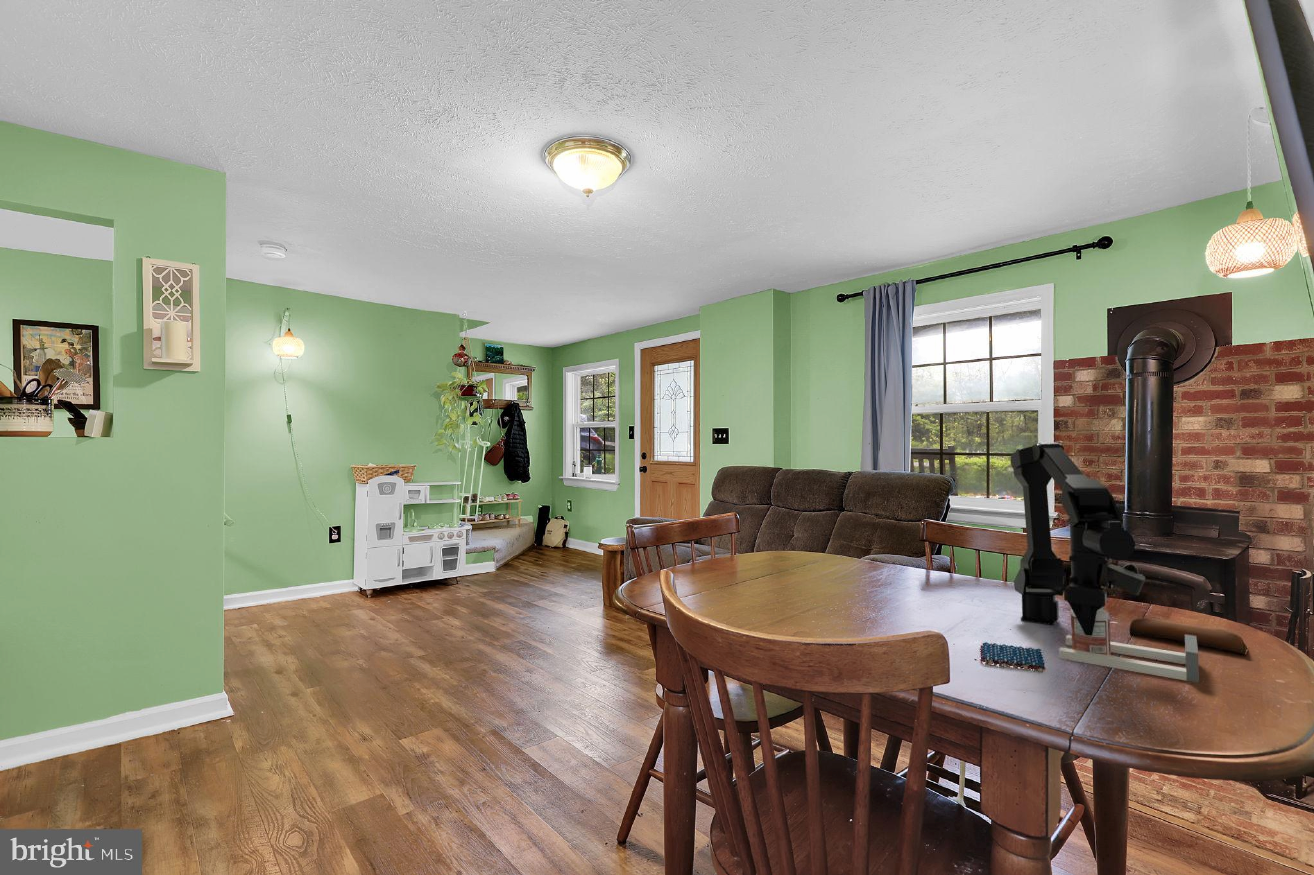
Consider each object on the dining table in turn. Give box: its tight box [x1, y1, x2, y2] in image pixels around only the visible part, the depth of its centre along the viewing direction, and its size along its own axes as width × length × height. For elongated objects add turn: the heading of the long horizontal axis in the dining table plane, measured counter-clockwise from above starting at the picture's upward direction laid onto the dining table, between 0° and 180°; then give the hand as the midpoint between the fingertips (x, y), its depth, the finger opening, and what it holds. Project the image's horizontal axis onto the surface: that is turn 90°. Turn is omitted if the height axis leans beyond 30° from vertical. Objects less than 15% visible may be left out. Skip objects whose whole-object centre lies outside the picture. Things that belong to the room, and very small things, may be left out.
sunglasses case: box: [1128, 617, 1248, 656], centre depth 125 cm, size 18×7×7 cm
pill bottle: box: [1070, 607, 1112, 656], centre depth 118 cm, size 6×6×11 cm
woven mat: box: [979, 641, 1046, 673], centre depth 117 cm, size 10×11×2 cm
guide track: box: [1058, 634, 1200, 684], centre depth 115 cm, size 20×12×5 cm, turn 50°
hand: (1090, 631), depth 118 cm, fingers closed on pill bottle, 6 cm apart
